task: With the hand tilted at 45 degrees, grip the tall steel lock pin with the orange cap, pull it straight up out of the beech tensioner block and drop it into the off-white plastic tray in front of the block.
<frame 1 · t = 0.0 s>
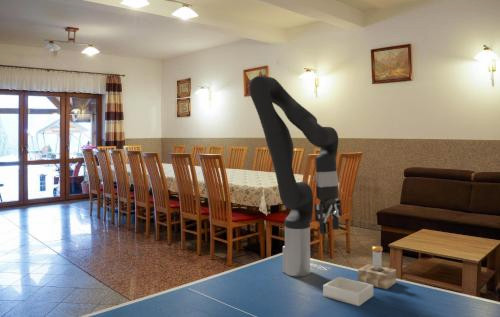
hand: (329, 231, 144), 17 cm above the table, tool pointing down, fingers open, 8 cm apart
tensioner block: (377, 282, 142), on the table
tray: (348, 296, 130), on the table
lock pin: (377, 264, 142), in the tensioner block
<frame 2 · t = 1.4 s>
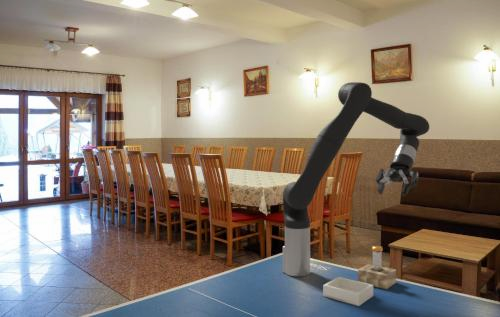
hand: (391, 193, 149), 29 cm above the table, tool tilted 45°, fingers open, 8 cm apart
nothing on the table moved.
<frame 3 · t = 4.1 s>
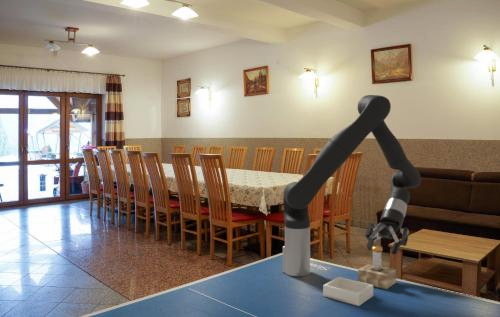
hand: (380, 251, 144), 10 cm above the table, tool tilted 45°, fingers open, 8 cm apart
nothing on the table moved.
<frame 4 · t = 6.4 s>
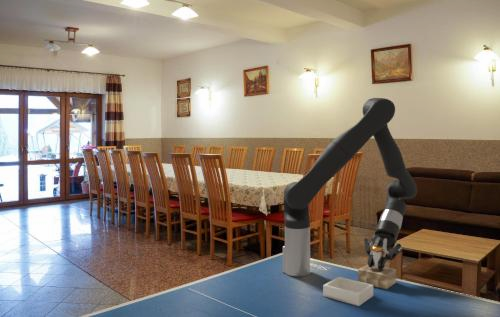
hand: (374, 267, 140), 6 cm above the table, tool tilted 45°, fingers closed on lock pin, 2 cm apart
lock pin: (377, 264, 142), in the tensioner block, touching gripper
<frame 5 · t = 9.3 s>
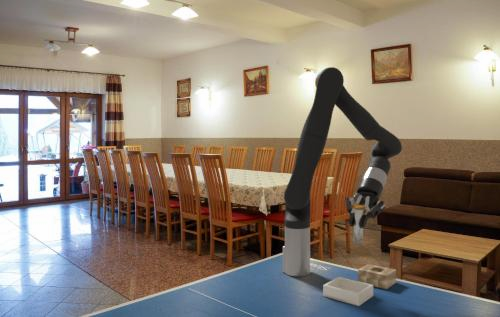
hand: (355, 225, 132), 22 cm above the table, tool tilted 45°, fingers closed on lock pin, 2 cm apart
lock pin: (358, 223, 133), point 22 cm above the table, touching gripper
when the fingers open (9 cm above the table, at t = 12.6 s): lock pin stays where it is, resting on tray.
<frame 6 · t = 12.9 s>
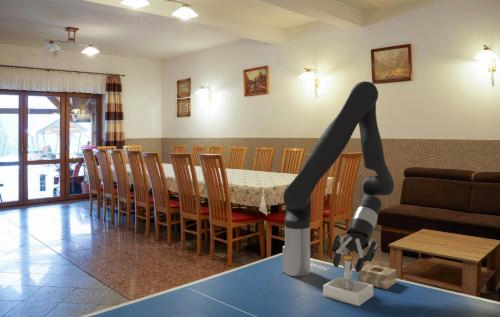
hand: (345, 268, 129), 9 cm above the table, tool tilted 45°, fingers open, 6 cm apart
lock pin: (348, 274, 130), in the tray, point 7 cm above the table
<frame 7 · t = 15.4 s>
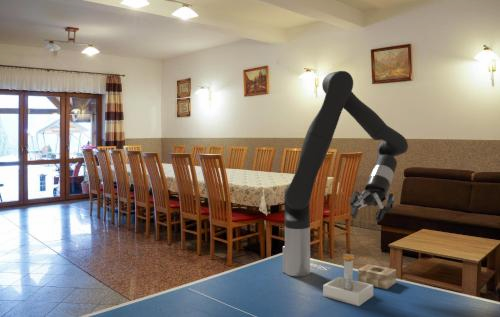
hand: (365, 218, 138), 23 cm above the table, tool tilted 45°, fingers open, 8 cm apart
nothing on the table moved.
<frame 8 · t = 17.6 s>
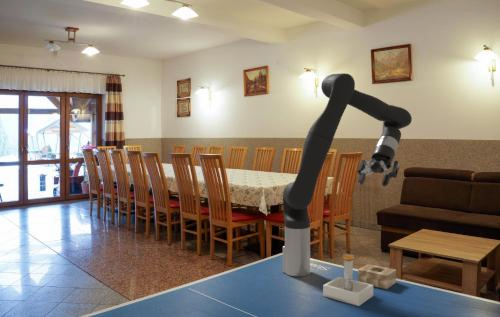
hand: (372, 184, 148), 33 cm above the table, tool tilted 45°, fingers open, 8 cm apart
nothing on the table moved.
at the end: lock pin inside the target area on the tray (0.1 cm from its centre), point 6.7 cm above the tray's base; lock pin moved 17.1 cm from its start; the gripper is holding nothing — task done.
